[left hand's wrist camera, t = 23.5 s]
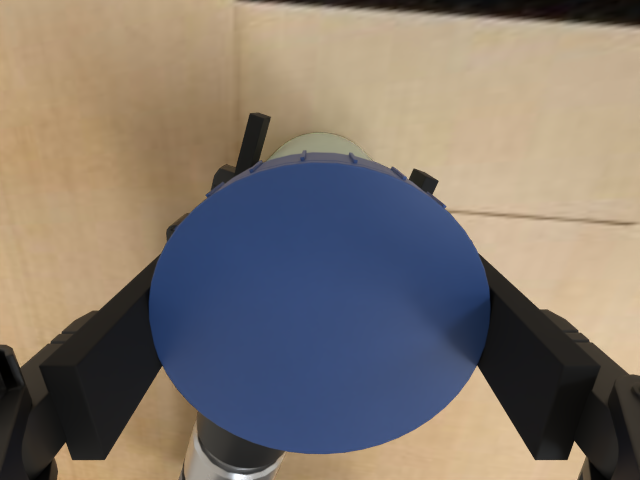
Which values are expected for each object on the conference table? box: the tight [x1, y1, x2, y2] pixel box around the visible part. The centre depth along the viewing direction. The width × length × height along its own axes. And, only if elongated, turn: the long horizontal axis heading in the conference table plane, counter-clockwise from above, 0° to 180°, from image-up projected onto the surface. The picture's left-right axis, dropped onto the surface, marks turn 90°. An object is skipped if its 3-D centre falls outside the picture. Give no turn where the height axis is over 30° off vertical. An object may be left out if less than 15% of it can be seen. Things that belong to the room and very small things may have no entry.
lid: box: [149, 150, 491, 454], centre depth 11 cm, size 10×10×2 cm
